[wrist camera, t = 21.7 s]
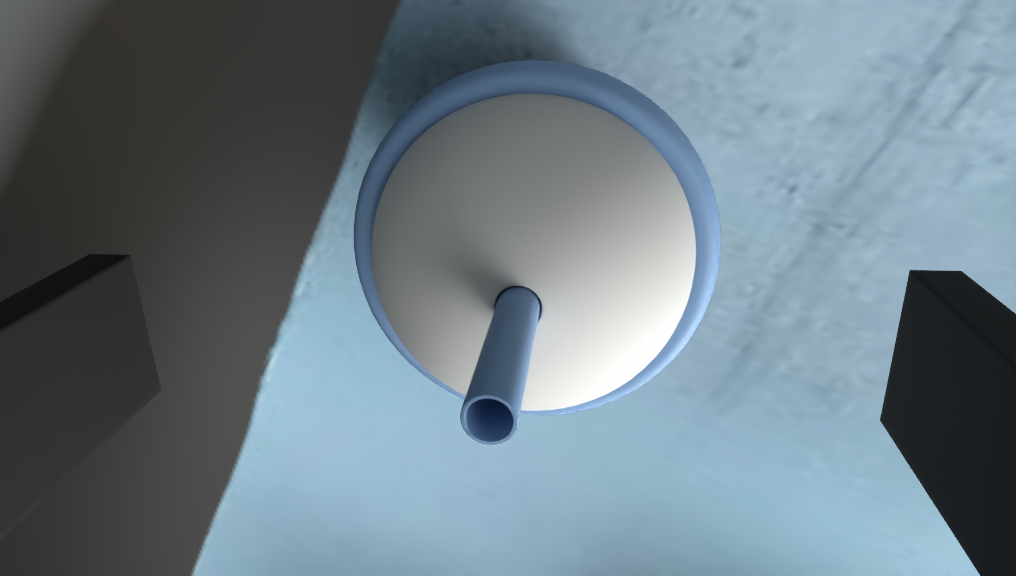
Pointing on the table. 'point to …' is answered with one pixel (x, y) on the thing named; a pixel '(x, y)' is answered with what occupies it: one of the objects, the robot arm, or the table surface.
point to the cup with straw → (536, 240)
